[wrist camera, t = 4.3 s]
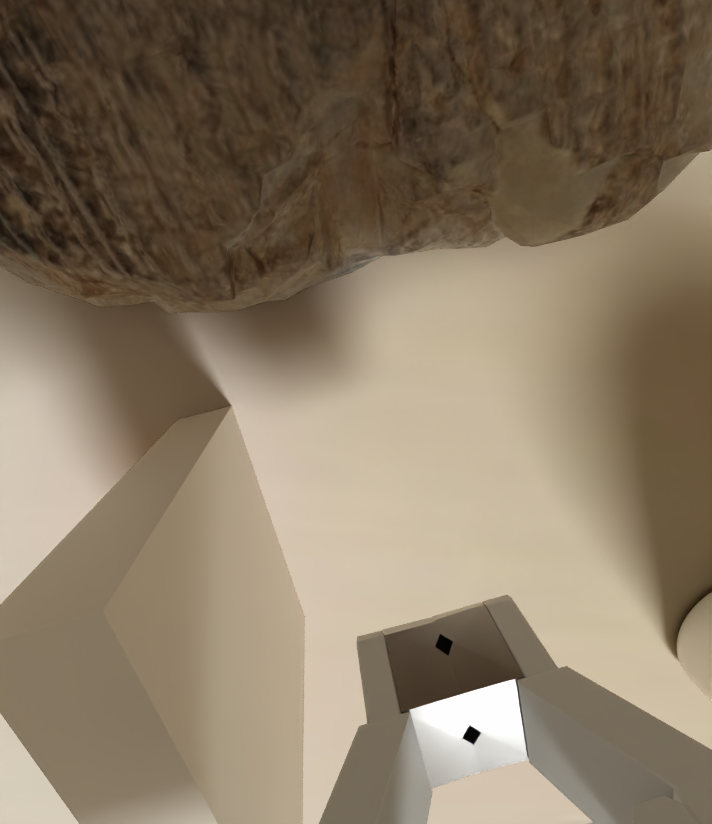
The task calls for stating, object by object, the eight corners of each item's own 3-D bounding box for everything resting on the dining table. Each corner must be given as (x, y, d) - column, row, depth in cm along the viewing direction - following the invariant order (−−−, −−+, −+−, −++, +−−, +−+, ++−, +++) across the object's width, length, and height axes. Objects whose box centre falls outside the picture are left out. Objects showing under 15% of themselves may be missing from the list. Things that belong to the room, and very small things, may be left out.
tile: (231, 405, 12) (102, 611, 5) (304, 616, 15) (300, 976, 7) (168, 421, 12) (-72, 658, 4) (252, 630, 15) (191, 1008, 7)
